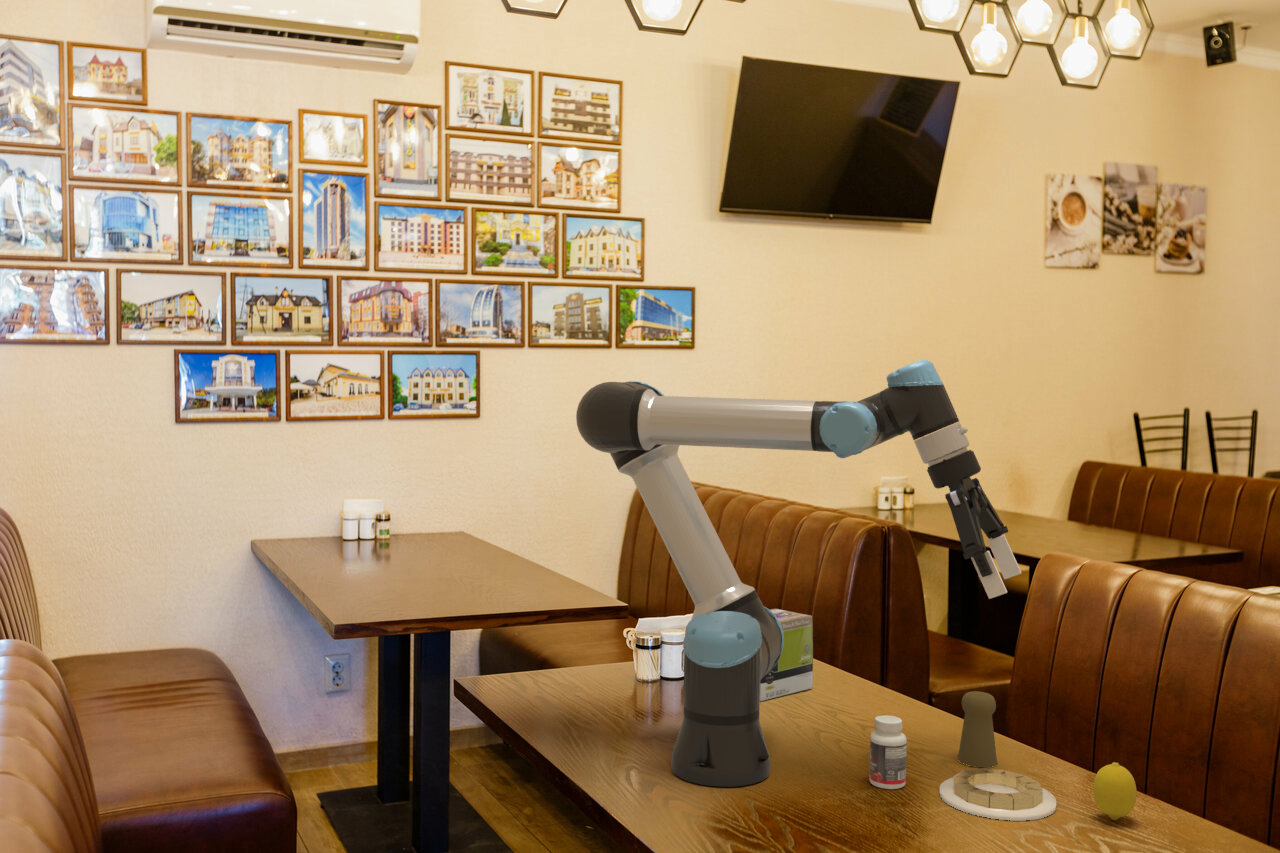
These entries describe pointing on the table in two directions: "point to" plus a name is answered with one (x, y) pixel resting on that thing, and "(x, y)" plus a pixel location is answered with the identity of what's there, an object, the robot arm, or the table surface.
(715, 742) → the robot arm
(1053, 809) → the coaster
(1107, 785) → the lemon
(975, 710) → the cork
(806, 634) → the tea box
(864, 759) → the table surface
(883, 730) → the pill bottle
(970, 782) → the collar
